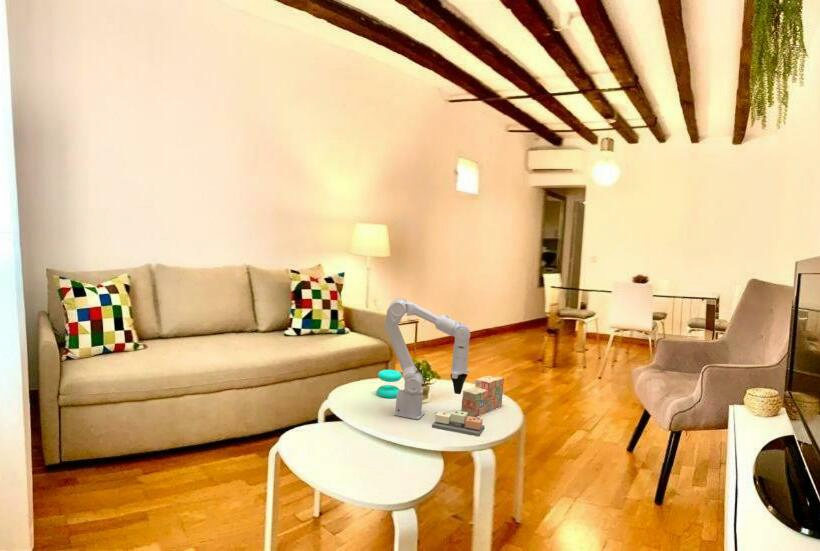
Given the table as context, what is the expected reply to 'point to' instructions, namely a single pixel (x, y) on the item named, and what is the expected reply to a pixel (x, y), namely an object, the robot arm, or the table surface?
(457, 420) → the tile two
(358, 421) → the table surface
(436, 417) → the tile one
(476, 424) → the tile three
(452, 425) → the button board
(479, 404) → the stack of blocks
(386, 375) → the donuts
